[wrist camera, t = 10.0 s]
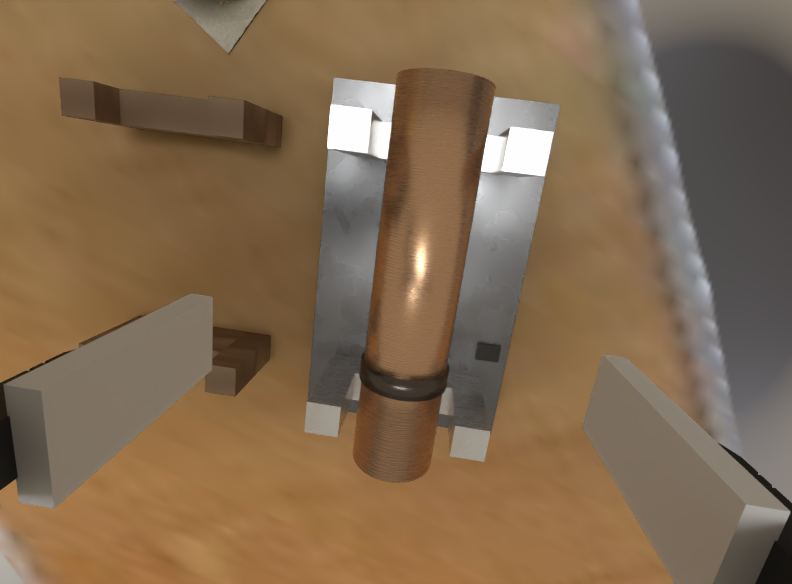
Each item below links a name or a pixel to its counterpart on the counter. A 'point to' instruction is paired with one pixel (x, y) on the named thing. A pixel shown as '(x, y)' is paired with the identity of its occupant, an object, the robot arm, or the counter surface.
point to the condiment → (222, 17)
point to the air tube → (419, 266)
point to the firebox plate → (483, 273)
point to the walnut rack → (210, 118)
